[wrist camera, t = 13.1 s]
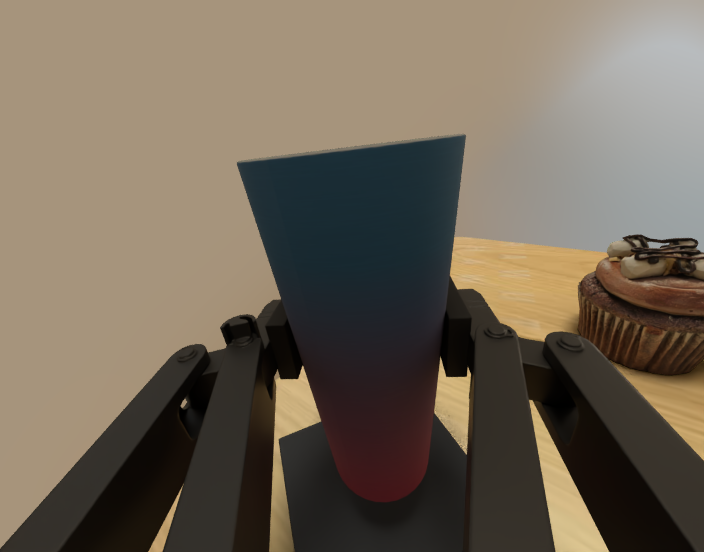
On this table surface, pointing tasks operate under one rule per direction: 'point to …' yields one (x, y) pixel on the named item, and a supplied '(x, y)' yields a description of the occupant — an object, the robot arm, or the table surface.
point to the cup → (365, 292)
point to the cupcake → (646, 305)
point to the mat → (368, 516)
